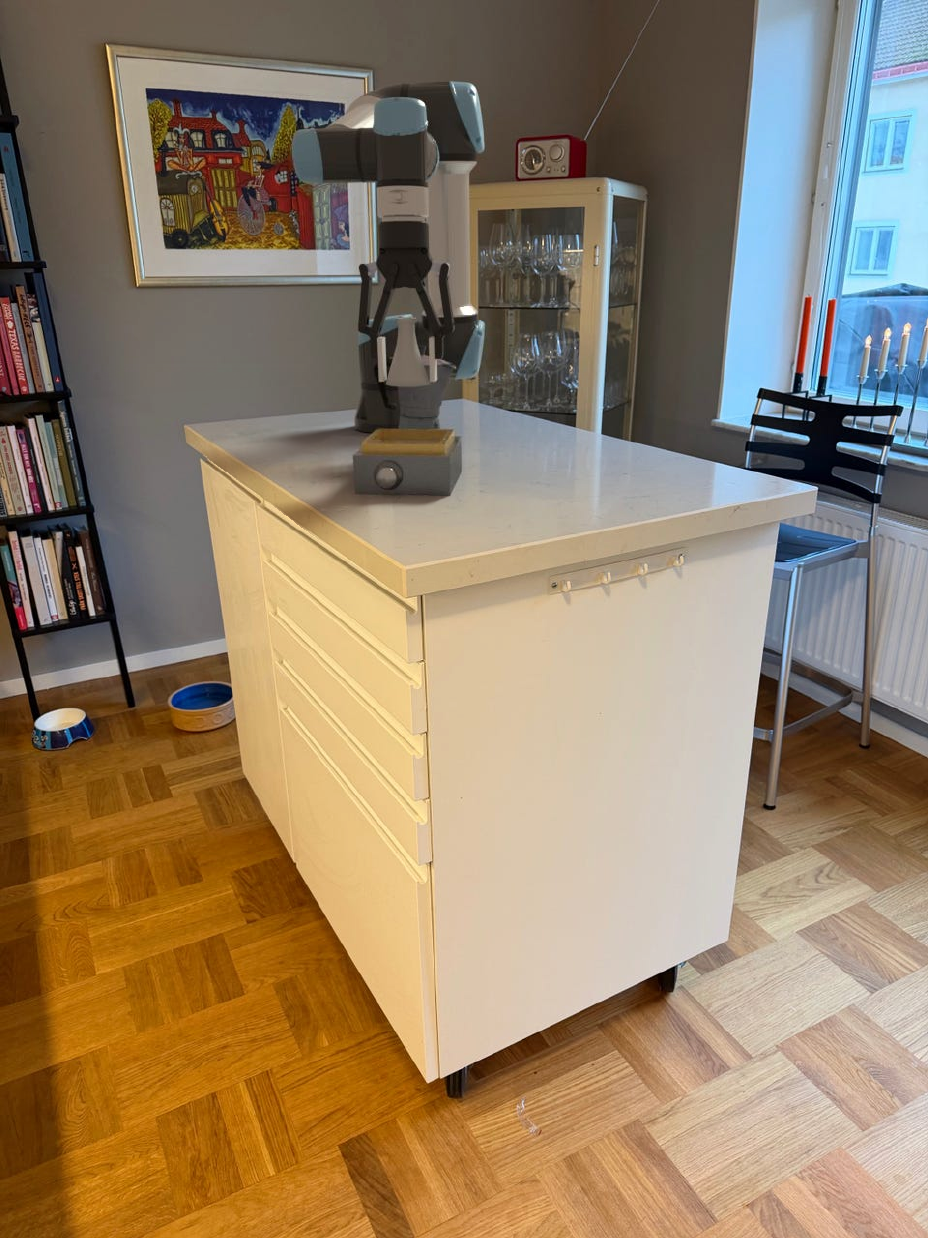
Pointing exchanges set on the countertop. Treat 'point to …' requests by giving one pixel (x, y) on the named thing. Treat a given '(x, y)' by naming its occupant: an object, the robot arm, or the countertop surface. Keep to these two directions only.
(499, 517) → the countertop surface
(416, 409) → the moka pot
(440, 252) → the robot arm
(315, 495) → the countertop surface
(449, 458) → the plate
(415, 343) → the flask
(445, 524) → the countertop surface
